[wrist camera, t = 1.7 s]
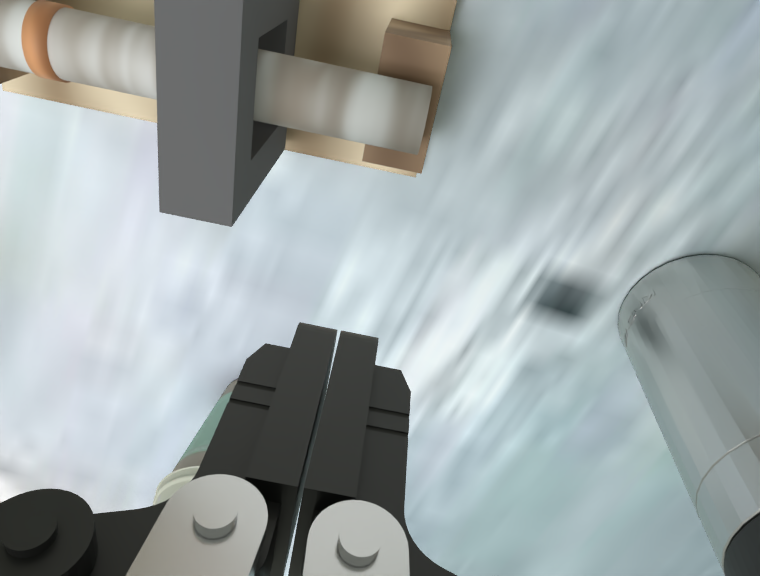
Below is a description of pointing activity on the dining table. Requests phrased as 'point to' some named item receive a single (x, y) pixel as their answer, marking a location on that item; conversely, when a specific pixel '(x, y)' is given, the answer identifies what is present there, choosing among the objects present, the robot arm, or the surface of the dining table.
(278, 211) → the dining table surface
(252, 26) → the collar
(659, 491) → the dining table surface
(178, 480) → the coffee cup
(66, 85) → the pipe rig
